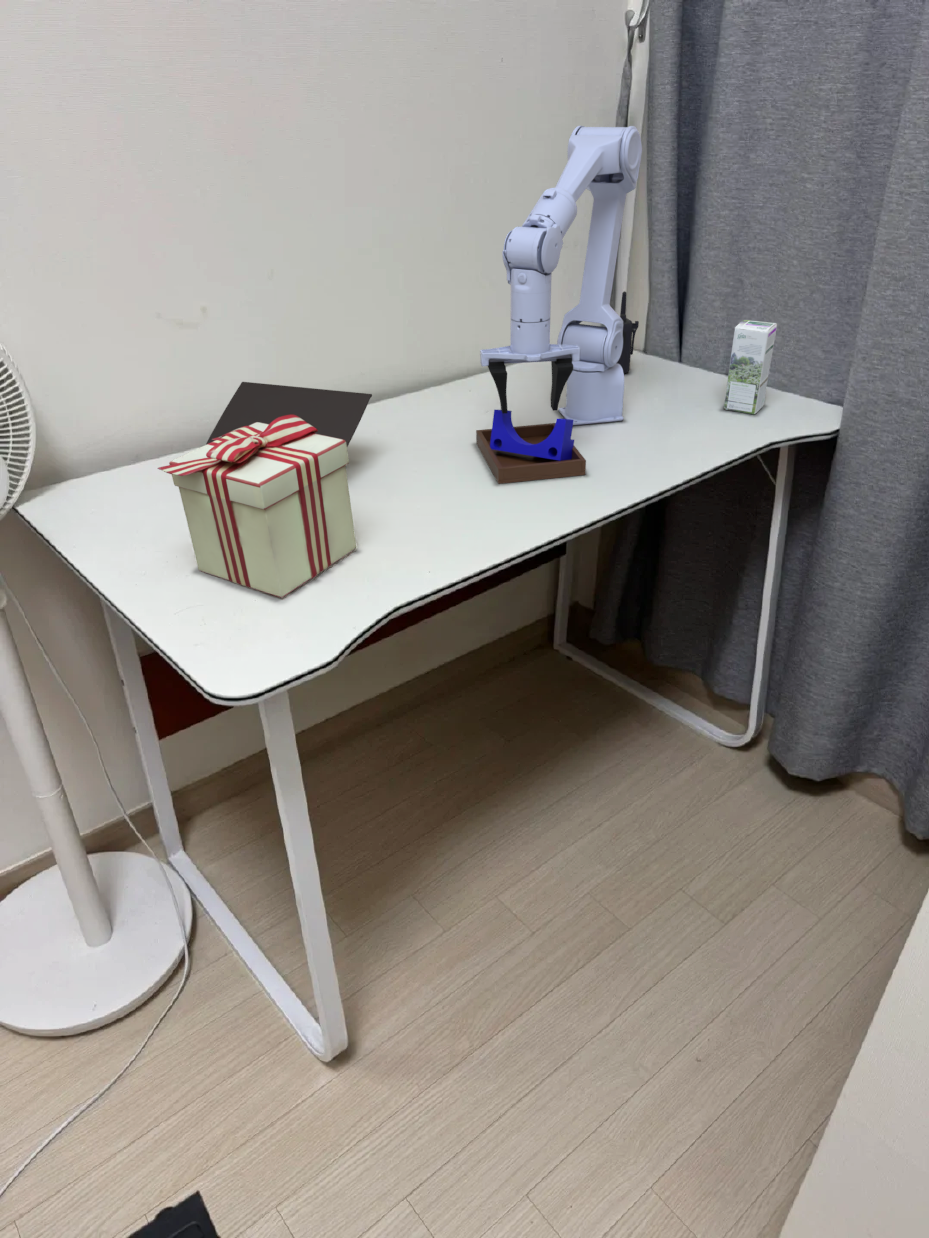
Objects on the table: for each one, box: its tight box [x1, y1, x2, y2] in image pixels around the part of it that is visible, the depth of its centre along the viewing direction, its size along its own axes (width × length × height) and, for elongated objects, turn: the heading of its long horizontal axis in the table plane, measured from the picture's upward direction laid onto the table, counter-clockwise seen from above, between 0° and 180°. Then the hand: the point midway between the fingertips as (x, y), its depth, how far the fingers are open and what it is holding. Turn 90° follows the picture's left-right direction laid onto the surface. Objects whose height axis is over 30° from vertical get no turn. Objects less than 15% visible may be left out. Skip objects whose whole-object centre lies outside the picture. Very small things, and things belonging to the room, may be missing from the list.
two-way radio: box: [617, 290, 640, 375], centre depth 167 cm, size 6×4×15 cm
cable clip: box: [490, 409, 575, 461], centre depth 132 cm, size 12×4×6 cm, turn 60°
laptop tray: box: [205, 381, 373, 448], centre depth 130 cm, size 23×23×9 cm
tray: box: [475, 422, 587, 485], centre depth 134 cm, size 13×16×2 cm
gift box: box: [157, 415, 357, 599], centre depth 104 cm, size 17×18×17 cm
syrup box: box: [723, 319, 778, 415], centre depth 148 cm, size 6×6×14 cm
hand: (529, 410), depth 131 cm, fingers open, 7 cm apart
